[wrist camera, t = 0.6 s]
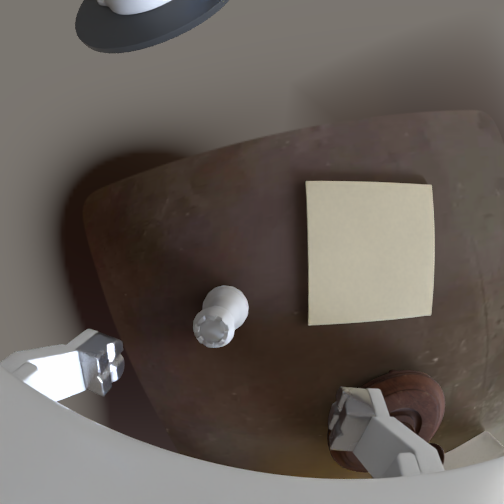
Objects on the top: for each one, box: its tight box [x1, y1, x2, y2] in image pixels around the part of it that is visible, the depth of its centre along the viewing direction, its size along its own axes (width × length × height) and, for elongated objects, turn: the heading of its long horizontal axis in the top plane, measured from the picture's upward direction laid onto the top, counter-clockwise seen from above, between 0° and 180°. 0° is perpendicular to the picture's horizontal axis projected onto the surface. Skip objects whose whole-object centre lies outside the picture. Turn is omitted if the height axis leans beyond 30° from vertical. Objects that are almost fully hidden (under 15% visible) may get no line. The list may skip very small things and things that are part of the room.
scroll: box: [328, 370, 445, 479], centre depth 19 cm, size 15×15×20 cm
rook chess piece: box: [193, 285, 249, 348], centre depth 25 cm, size 4×4×8 cm
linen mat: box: [305, 181, 434, 325], centre depth 28 cm, size 14×14×1 cm
